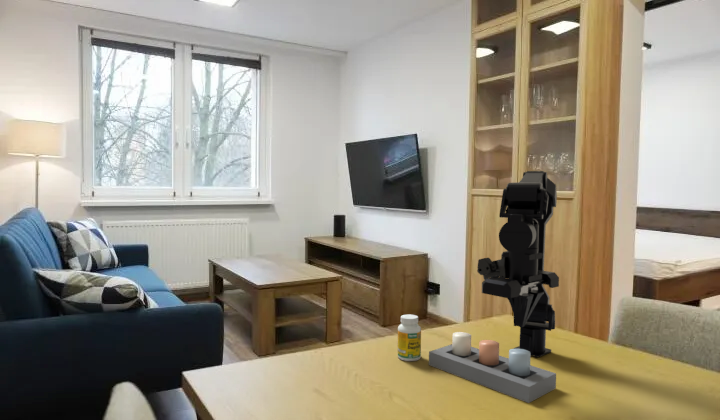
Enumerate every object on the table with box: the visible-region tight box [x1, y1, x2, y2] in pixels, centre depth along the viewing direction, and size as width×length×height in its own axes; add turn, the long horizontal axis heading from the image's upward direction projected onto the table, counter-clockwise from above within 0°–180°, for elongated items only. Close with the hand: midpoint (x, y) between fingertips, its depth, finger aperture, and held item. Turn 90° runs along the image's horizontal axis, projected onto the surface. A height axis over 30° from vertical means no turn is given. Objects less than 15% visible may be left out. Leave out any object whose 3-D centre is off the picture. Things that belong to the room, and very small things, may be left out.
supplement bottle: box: [397, 313, 422, 362], centre depth 109 cm, size 5×5×10 cm
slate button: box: [508, 348, 531, 376], centre depth 93 cm, size 4×4×4 cm
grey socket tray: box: [428, 343, 557, 404], centre depth 99 cm, size 10×24×3 cm, turn 40°
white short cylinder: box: [451, 331, 472, 356], centre depth 104 cm, size 4×4×4 cm
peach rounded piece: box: [478, 339, 500, 365], centre depth 99 cm, size 4×4×4 cm
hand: (520, 326), depth 93 cm, fingers closed
